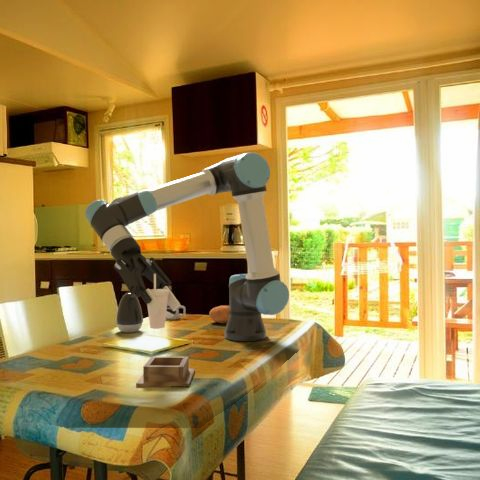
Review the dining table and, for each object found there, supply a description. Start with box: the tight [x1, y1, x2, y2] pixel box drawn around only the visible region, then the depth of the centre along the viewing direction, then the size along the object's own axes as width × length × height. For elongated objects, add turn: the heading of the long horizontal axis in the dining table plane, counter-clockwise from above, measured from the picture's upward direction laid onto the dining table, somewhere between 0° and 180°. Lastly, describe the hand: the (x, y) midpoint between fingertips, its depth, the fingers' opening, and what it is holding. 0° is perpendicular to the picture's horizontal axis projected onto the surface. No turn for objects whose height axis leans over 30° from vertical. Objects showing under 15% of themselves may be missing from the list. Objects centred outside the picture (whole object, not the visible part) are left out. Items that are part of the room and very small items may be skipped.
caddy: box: [135, 355, 196, 388], centre depth 122 cm, size 13×13×4 cm
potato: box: [208, 305, 230, 324], centre depth 200 cm, size 9×11×8 cm
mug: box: [165, 304, 187, 321], centre depth 212 cm, size 10×7×7 cm, turn 81°
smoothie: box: [146, 274, 169, 329], centre depth 123 cm, size 6×6×14 cm
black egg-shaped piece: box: [115, 292, 144, 334], centre depth 183 cm, size 10×10×15 cm
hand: (167, 309), depth 121 cm, fingers closed on smoothie, 6 cm apart
